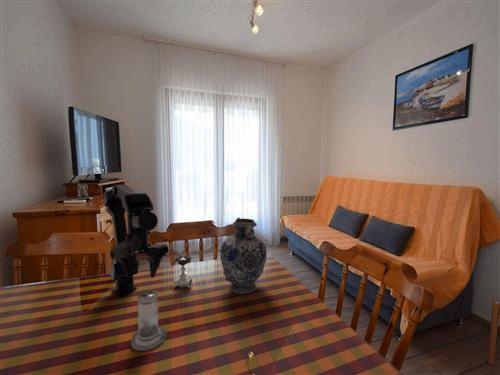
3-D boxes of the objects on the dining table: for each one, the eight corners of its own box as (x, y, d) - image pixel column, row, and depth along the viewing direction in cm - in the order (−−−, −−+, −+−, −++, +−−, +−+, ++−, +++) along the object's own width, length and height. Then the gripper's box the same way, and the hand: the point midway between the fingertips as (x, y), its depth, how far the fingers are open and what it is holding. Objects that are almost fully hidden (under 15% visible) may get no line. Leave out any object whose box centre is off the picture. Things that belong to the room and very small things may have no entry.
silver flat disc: (123, 344, 62) (123, 340, 62) (150, 324, 71) (150, 321, 70) (146, 356, 59) (146, 351, 58) (172, 334, 67) (172, 330, 67)
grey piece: (135, 334, 65) (134, 295, 64) (153, 326, 68) (153, 288, 67) (142, 344, 61) (141, 302, 60) (161, 334, 65) (161, 295, 64)
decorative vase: (215, 278, 102) (217, 215, 100) (255, 274, 107) (257, 214, 106) (225, 305, 81) (228, 227, 79) (274, 298, 87) (277, 225, 85)
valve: (186, 292, 90) (186, 262, 89) (171, 290, 91) (171, 260, 91) (194, 284, 97) (194, 256, 96) (179, 282, 98) (179, 254, 97)
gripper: (93, 235, 71) (96, 286, 70) (143, 232, 66) (147, 287, 65) (122, 229, 82) (125, 274, 81) (167, 226, 76) (171, 274, 76)
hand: (141, 277), depth 75 cm, fingers open, 9 cm apart
